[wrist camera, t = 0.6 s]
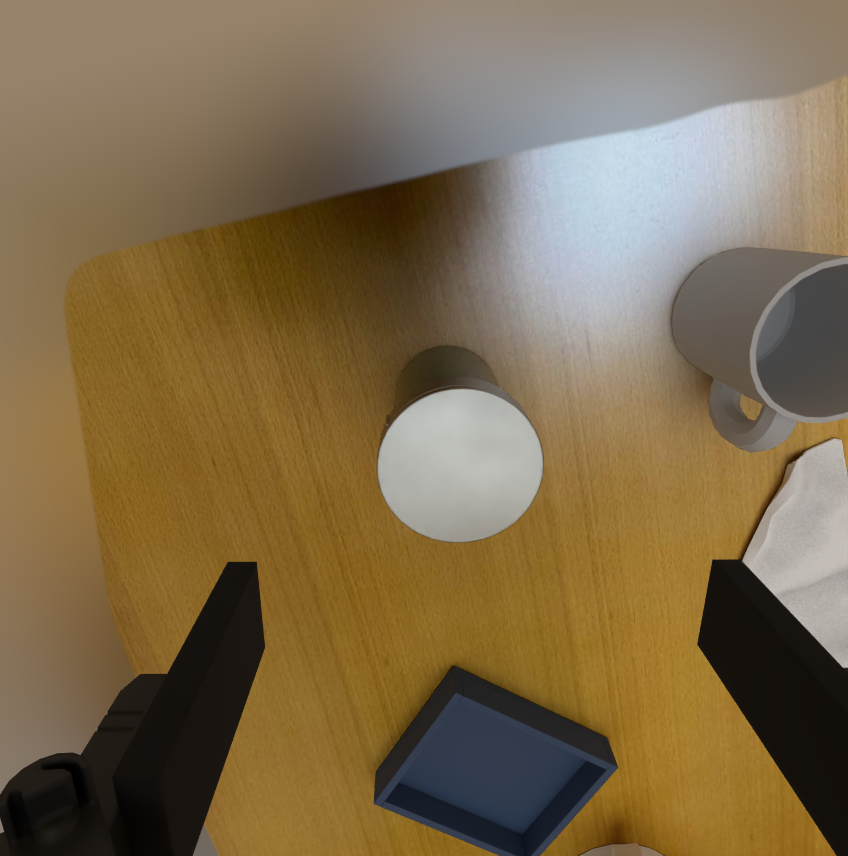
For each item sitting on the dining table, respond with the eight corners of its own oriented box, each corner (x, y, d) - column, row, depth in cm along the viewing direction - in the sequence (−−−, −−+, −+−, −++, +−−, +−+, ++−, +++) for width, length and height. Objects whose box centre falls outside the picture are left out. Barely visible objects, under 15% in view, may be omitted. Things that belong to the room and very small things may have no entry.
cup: (815, 258, 34) (948, 273, 25) (753, 427, 37) (853, 489, 29) (690, 235, 33) (784, 242, 25) (639, 408, 37) (706, 466, 28)
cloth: (701, 465, 38) (718, 480, 36) (928, 417, 37) (960, 430, 35) (726, 775, 46) (741, 802, 44) (912, 742, 46) (936, 768, 43)
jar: (377, 413, 36) (363, 487, 26) (428, 326, 35) (434, 370, 25) (463, 460, 37) (481, 548, 28) (516, 377, 36) (556, 439, 26)
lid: (349, 478, 28) (345, 496, 26) (427, 346, 26) (429, 355, 24) (482, 546, 29) (486, 568, 27) (566, 425, 27) (576, 440, 25)
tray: (375, 772, 46) (373, 804, 43) (453, 664, 42) (455, 692, 40) (523, 834, 48) (529, 868, 45) (607, 737, 45) (618, 767, 42)
